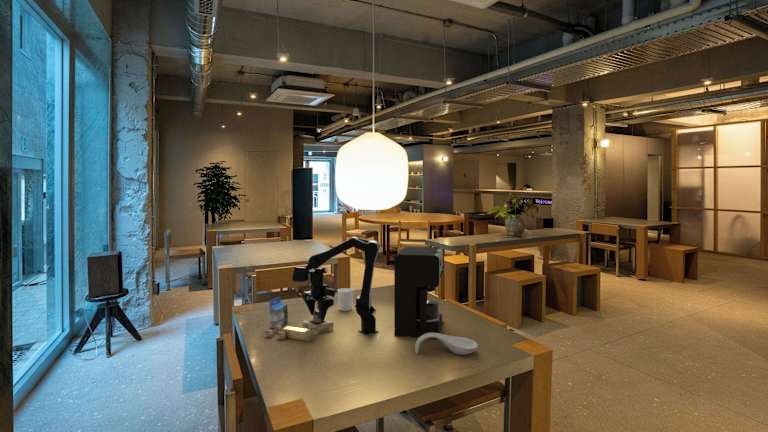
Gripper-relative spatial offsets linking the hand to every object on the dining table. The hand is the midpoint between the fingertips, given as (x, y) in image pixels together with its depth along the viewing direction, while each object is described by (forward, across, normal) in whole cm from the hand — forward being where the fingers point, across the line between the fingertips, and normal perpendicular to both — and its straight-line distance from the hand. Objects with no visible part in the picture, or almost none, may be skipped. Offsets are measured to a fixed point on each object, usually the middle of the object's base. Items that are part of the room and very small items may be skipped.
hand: (317, 317), depth 176 cm
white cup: (+6, +18, -26) cm, 32 cm away
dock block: (+5, 0, 0) cm, 5 cm away
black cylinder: (+5, 0, 0) cm, 5 cm away
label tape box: (+6, +16, +11) cm, 20 cm away
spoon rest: (+6, -52, -26) cm, 58 cm away
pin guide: (+5, +4, +16) cm, 17 cm away
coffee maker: (+6, -28, -35) cm, 45 cm away
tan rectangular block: (+5, -4, +11) cm, 13 cm away
